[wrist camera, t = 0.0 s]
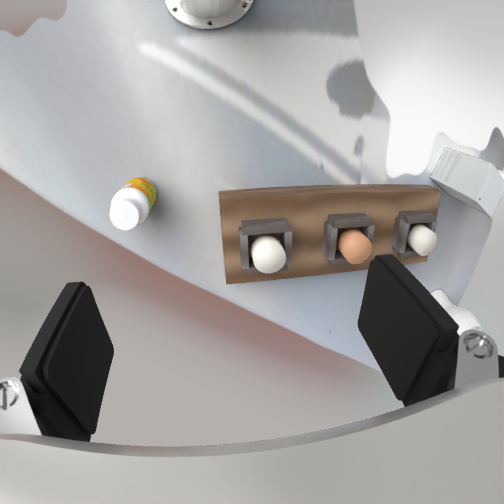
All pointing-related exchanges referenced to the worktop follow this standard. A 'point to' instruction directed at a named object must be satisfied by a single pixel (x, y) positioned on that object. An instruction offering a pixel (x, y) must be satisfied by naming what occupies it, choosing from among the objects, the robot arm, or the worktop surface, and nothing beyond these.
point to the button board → (321, 225)
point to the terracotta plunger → (354, 246)
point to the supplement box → (470, 180)
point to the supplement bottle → (132, 203)
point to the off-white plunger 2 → (422, 239)
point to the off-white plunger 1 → (268, 254)
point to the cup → (457, 313)
